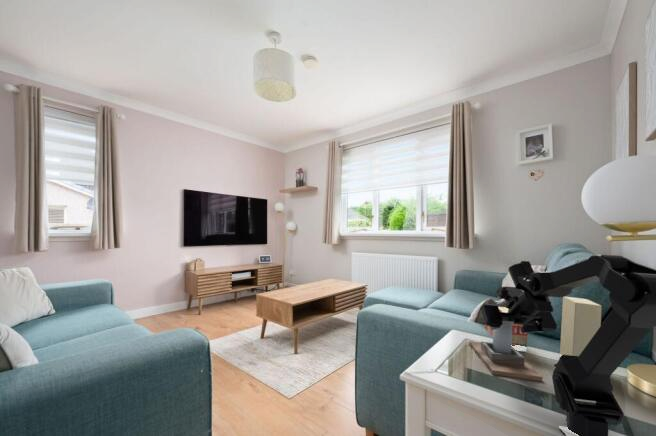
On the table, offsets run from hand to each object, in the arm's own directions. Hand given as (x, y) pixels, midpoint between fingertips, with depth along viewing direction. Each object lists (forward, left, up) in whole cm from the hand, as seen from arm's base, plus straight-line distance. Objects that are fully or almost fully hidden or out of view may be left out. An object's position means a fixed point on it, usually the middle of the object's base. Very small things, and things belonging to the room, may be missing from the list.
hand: (506, 329), depth 86 cm
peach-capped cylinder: (+2, 0, -9) cm, 10 cm away
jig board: (+2, 0, -11) cm, 11 cm away
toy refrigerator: (+5, -24, -11) cm, 27 cm away
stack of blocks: (+22, -9, -11) cm, 26 cm away
